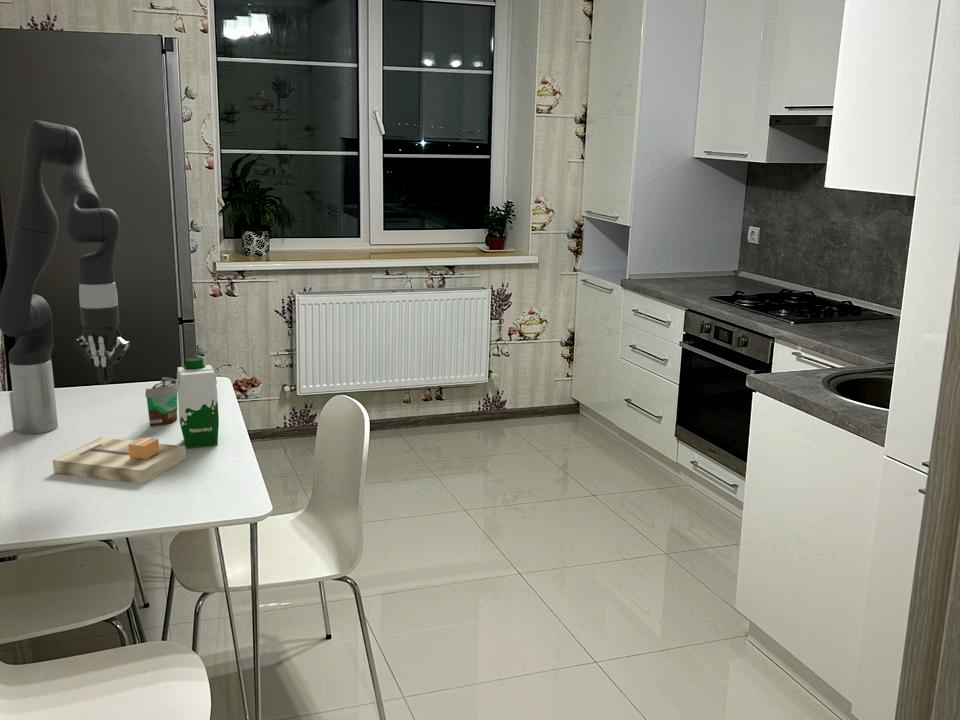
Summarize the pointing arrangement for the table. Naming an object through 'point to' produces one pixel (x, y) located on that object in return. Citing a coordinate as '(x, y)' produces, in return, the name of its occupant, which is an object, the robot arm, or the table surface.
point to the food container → (162, 402)
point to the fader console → (117, 461)
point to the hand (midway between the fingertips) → (105, 382)
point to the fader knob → (143, 448)
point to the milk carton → (198, 403)
